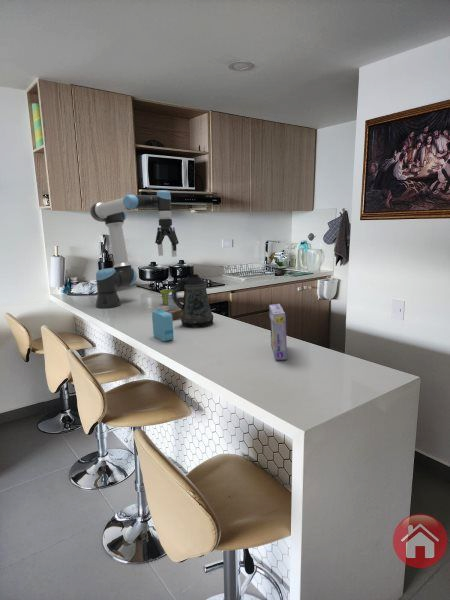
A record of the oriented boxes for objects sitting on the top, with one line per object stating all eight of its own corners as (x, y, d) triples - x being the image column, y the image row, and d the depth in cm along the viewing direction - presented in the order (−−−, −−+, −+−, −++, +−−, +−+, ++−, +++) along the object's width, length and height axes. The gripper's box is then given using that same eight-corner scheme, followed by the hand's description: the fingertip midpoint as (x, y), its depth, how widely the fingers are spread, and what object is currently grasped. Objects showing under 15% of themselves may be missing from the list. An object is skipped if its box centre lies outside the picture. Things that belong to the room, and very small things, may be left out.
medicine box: (170, 307, 217) (169, 292, 215) (178, 307, 217) (177, 291, 215) (168, 310, 209) (167, 294, 207) (177, 310, 209) (176, 294, 207)
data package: (174, 340, 171) (172, 313, 169) (164, 342, 168) (162, 315, 166) (162, 334, 181) (160, 309, 178) (153, 336, 178) (151, 310, 176)
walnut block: (158, 318, 213) (157, 309, 213) (174, 314, 222) (174, 305, 221) (173, 321, 206) (172, 312, 205) (189, 317, 215) (189, 308, 214)
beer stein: (220, 323, 198) (218, 274, 193) (192, 331, 184) (189, 278, 179) (198, 318, 209) (195, 271, 204) (169, 326, 195) (166, 276, 190)
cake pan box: (269, 344, 161) (269, 302, 157) (281, 344, 161) (281, 302, 157) (273, 361, 142) (273, 313, 138) (287, 361, 142) (287, 313, 138)
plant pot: (177, 302, 253) (176, 289, 251) (173, 305, 243) (173, 292, 242) (162, 302, 253) (162, 289, 252) (159, 305, 244) (158, 292, 243)
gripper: (183, 218, 216) (185, 256, 220) (158, 219, 234) (160, 254, 238) (172, 218, 211) (174, 257, 215) (147, 219, 229) (150, 255, 233)
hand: (167, 256), depth 227 cm, fingers open, 13 cm apart
